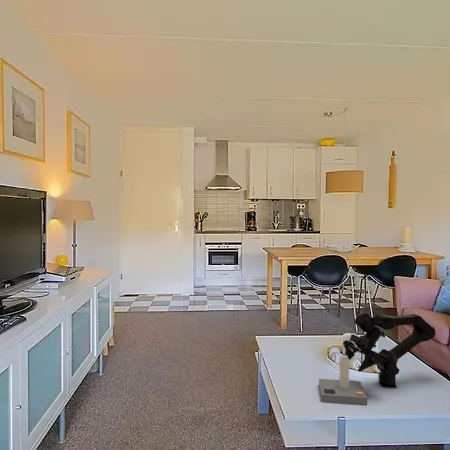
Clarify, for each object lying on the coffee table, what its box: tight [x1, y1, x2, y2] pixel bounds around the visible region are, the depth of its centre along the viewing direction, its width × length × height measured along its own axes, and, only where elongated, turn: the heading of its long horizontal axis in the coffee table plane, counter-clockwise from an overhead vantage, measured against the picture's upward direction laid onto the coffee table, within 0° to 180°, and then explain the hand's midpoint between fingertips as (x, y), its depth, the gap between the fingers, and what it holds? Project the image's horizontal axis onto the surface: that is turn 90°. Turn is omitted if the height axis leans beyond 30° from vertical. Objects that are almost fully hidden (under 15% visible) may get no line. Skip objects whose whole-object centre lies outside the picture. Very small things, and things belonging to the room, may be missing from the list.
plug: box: [338, 354, 350, 389], centre depth 171 cm, size 3×3×13 cm
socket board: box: [318, 378, 368, 406], centre depth 171 cm, size 18×16×4 cm
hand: (351, 367), depth 173 cm, fingers open, 9 cm apart
